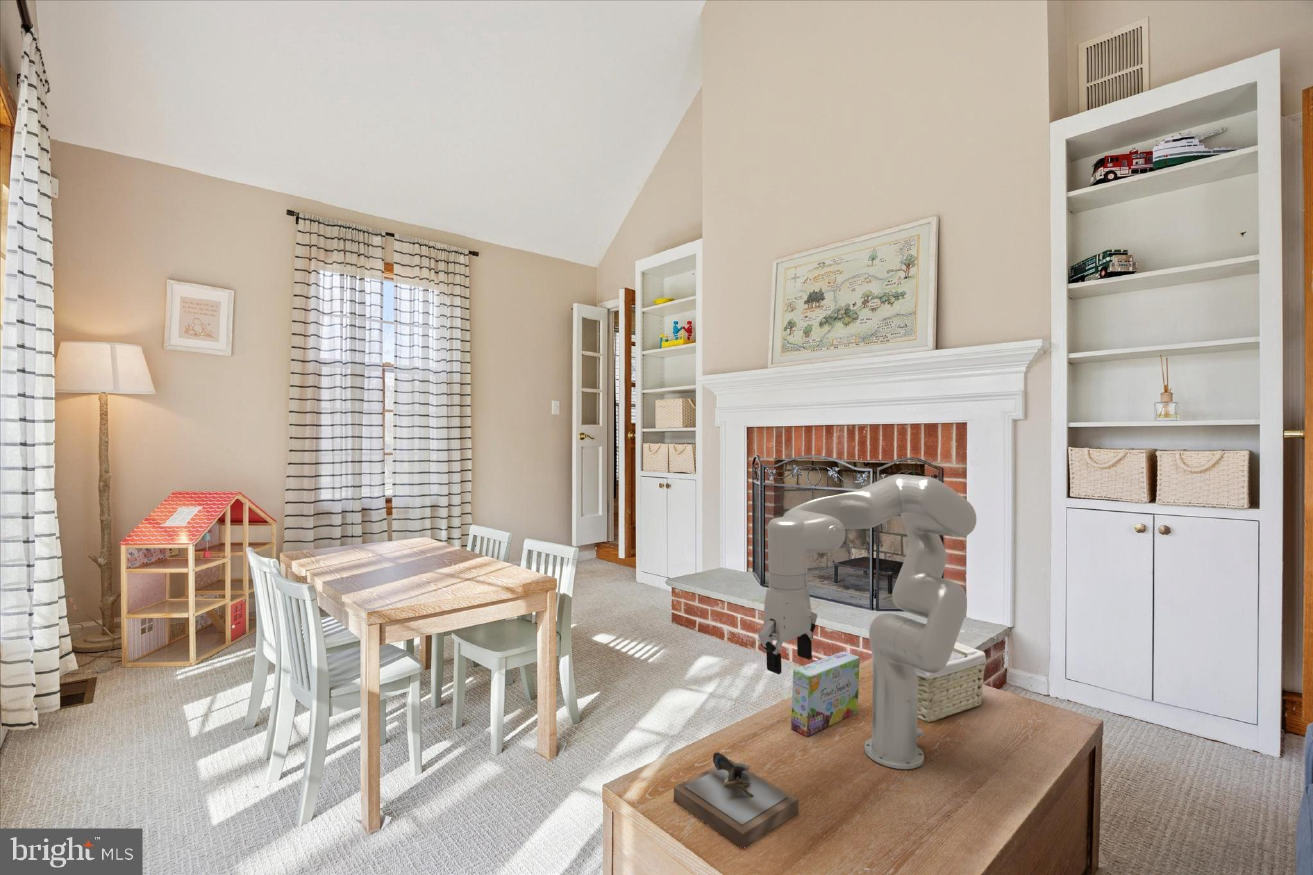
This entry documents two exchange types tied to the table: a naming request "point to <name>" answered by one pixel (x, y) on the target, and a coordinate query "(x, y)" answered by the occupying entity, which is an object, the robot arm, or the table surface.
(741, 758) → the table surface
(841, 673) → the snack box
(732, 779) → the eagle figurine
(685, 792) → the picture frame
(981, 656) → the storage basket
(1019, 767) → the table surface
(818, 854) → the table surface
